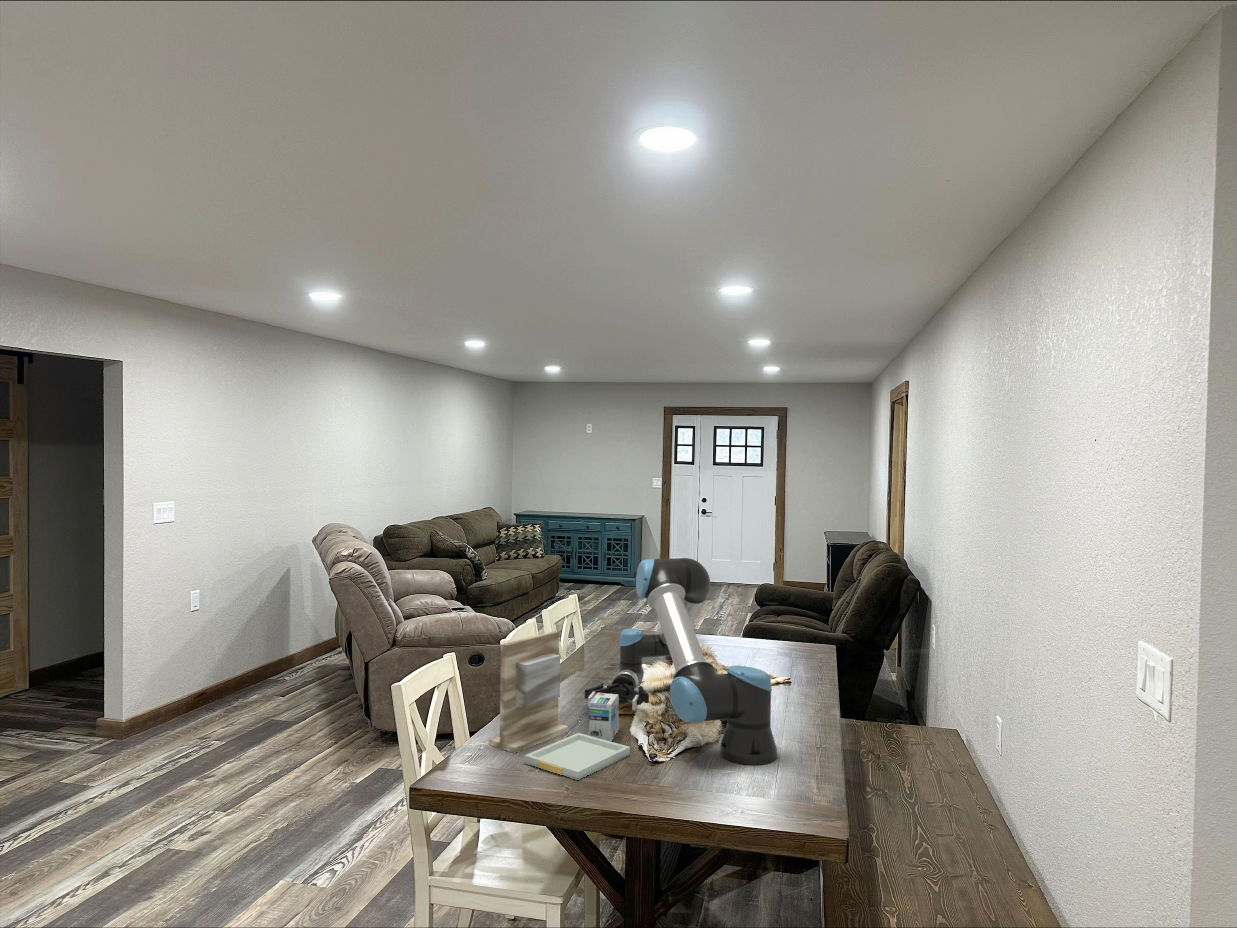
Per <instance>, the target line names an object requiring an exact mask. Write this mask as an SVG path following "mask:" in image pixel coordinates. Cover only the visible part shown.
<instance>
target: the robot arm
mask: <svg viewBox="0 0 1237 928" xmlns="http://www.w3.org/2000/svg"><path fill="white" fill-rule="evenodd" d="M635 591H636V595H637V598H639V599H642V600H644V599H646V601H647V604H648V606H649V607H650V608H651V609H653V610H655V613H656V615H657V618H658V622H659V624H660V627H661V629H660V631H659V632H658V633H657V634H655V633H654V634H653V633H652V634H643V631H642V630H641V629H639V628H638V629H637V628H625V629H623V630H622V631H621V632H620V636H619V673H618V674H617V675H615V678H614V679H613V680H612V683H611V684H610V685H607V686H606V685H605V683H603V682H602V683H600V684H599V685H597V686H592V687H590V688H587V689H584V699H586V700H587V707H588V708H589V703H590V702H591V700H592V699H593V698H594V697H595V695H596V694H597V693H606V694H618V695H619V700H620V699H622V700H627V699H631V700H632V701H631V702H632V706H631V708H632V709H631V710H632V711H635V710H636V709H637V707H638V705H639V706H640V705H642V704H643V703H645V704H649V703H650V694H649V693H648V692H647V691H646V690H645V689H644V687H643V686H642V685H641V686H639V685H640V684H642V683H641V682H643V679H644V673H645V672H644V669H643V659H644V658H656V657H671V660H672V663H673V666H674V669H675V673H674V674H673V677H672V680H671V682H670V687H669V695H670V701H671V705H672V708H673V710H674V713H675V714H676V716H677V717H678V718H679V719H680V720H681V721H684V722H686V723H703V722H711V721H721V720H726V727H725V729H724V733H723V736H722V738H721V741H720V745H719V746H720V750H719V753H720V756H721V757H722V758H723V759H725V760H728V761H730V762H732V763H737V764H741V765H750V766H752V765H753V766H754V765H766V764H769V763H773V762H775V761H776V760H777V758H778V747H777V744H776V741H775V737H774V735H773V731H772V727H771V726H772V725H771V720H772V717H771V716H772V713H771V712H772V709H771V708H772V690H773V689H772V681H771V676H770V675H769V673H767V672H766V671H764V670H762V669H759V668H755V667H751V666H746V665H731V666H728V667H727V670H726V672H727V673H717V672H716V669H715V667H714V666H713V664H712V662H709V661H706V659H705V656H704V654H703V650H702V647H701V645H700V643H699V640H698V637H697V635H696V632H695V629H694V627H693V624H692V619H693V618H694V616H695V613H696V612H697V610H698V608H699V606H700V605H701V604H702V603H704V602H705V601H706V599H707V597H708V595H709V593H710V591H711V578H710V575H709V572H708V570H707V569H706V567H704V565H703V564H702V563H700V562H699V561H697V560H695V559H693V558H690V557H682V558H679V557H678V558H673V557H672V558H649V559H648V558H647V559H643V560H642V561H640V562H639V564H638V567H637V570H636V574H635Z"/></svg>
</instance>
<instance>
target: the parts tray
mask: <svg viewBox="0 0 1237 928" xmlns="http://www.w3.org/2000/svg"><path fill="white" fill-rule="evenodd" d="M630 756H631V746H628V745H625V744H621V743H617V742H614V741H613V742H612V741H611V742H610V741H606V740H603V739H599V738H595V737H592V736H589V734H588V735H587V734H584V733H580V732H577V733H575V734H572V735H570V736H568V737H566V738H563V739H560V740H559V741H556V742H553V743H550V744H549V745H545V746H544V747H541V748H539V749H536V750H534V751H532V752H530V753H527V754H524V762H523V764H524V763H525V764H524V765H526V764H528V765H527V766H530V765H532V766H531V767H533V766H535V767H534V768H536V767H538V768H537V769H539V768H541V769H540V770H542V769H544V770H543V771H545V770H548V771H550V772H549V773H551V772H554V773H553V774H555V773H557V774H556V775H558V774H560V775H559V776H561V775H564V776H567V777H570V778H573V779H575V780H574V781H577V780H579V781H581V780H582V779H581V778H583V777H585V778H586V776H587V775H589V776H590V774H591V775H593V774H595V773H597V772H599V771H601V770H603V769H605V768H607V767H609V766H611V765H613V764H615V763H617V762H618V761H619V762H620V761H621V760H623V759H625V758H627V757H630ZM548 771H547V772H548ZM596 771H597V772H596ZM594 772H595V773H594ZM592 773H593V774H592ZM564 776H563V777H564ZM567 777H566V778H567ZM587 777H588V776H587ZM570 778H569V779H570ZM573 779H572V780H573ZM580 779H581V780H580ZM583 779H584V778H583Z"/></svg>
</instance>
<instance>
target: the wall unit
mask: <svg viewBox="0 0 1237 928" xmlns="http://www.w3.org/2000/svg"><path fill="white" fill-rule="evenodd" d="M559 647H560V632H559V631H555V630H554V631H553V630H552V631H548V632H544V633H541V634H537V635H534V636H529V637H525V638H521V639H518V640H513V641H509V642H506V643H505V642H504V643H502V644H500V669H499V670H500V672H499V674H500V677H499V678H500V685H499V690H500V692H499V695H500V696H499V736H496V737H495V736H494V737H493V738H490V739H489V741H488V742H489V744H488V745H489V746H491V747H494V748H497V749H501V750H503V749H504V751H506V750H507V752H510V751H511V752H510V753H513V752H515V753H514V754H517V753H516V752H518V751H520V752H522V751H521V750H523V751H525V750H527V749H529V747H530V748H532V747H535V746H536V744H537V745H539V743H540V744H542V743H545V742H547V741H549V740H552V739H554V738H556V736H557V737H559V736H561V735H564V734H566V733H568V732H569V726H568V725H564V724H560V723H559V698H560V695H561V655H560V648H559ZM565 732H566V733H565ZM563 733H564V734H563ZM558 735H559V736H558ZM551 738H552V739H551ZM534 745H535V746H534ZM531 746H532V747H531ZM526 748H527V749H526ZM524 749H525V750H524ZM518 753H519V752H518Z"/></svg>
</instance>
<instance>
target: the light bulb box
mask: <svg viewBox="0 0 1237 928" xmlns="http://www.w3.org/2000/svg"><path fill="white" fill-rule="evenodd" d="M619 701H620V698H619V695H618V694H606V693H597V694H596V695H595V697H594V698H593V699H592V700H591V702H590V703H589V707H588V708H589V715H588V716H589V717H588V718H589V719H588V720H589V721H588V722H589V723H588V728H589V729H588V732H589V733H588V736H592V737H595V738H599V739H603V740H606V741H610V742H612V741H614V739H615V737H616V735H617V734H618V732H619V731H620V730H619V729H620V728H619V721H620V720H619V718H620V716H619V710H620V708H619V707H620V706H619V704H620V703H619ZM618 730H619V731H618ZM616 733H617V734H616Z"/></svg>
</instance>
